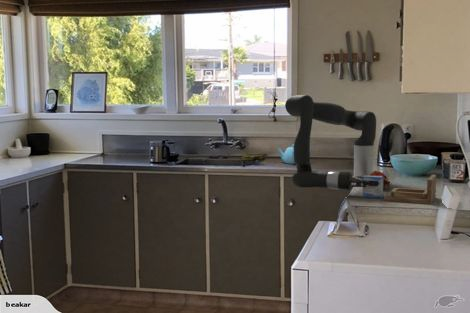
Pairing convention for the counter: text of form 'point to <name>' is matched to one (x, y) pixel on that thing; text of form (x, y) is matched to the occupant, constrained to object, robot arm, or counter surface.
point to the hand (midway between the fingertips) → (379, 182)
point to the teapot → (288, 155)
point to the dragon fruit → (378, 173)
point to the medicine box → (373, 187)
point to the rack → (414, 193)
